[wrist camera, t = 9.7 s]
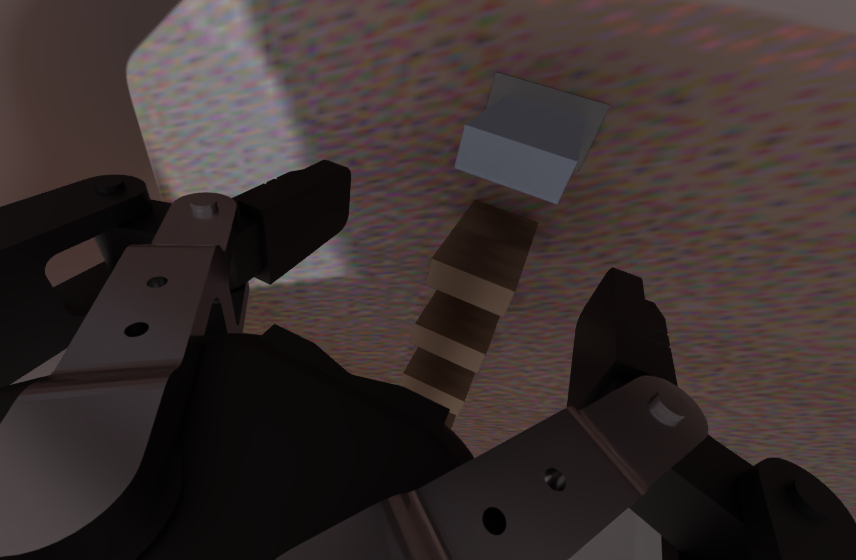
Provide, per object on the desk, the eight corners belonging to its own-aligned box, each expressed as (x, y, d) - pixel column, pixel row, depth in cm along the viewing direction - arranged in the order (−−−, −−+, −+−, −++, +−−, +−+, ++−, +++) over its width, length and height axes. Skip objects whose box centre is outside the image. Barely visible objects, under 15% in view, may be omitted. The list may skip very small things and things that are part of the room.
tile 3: (512, 279, 30) (485, 354, 23) (505, 297, 32) (477, 373, 25) (457, 257, 31) (415, 323, 24) (451, 275, 32) (410, 343, 26)
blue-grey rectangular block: (586, 118, 22) (577, 161, 15) (571, 150, 23) (557, 204, 16) (507, 94, 23) (465, 124, 16) (497, 126, 24) (454, 168, 17)
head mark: (610, 104, 21) (610, 105, 21) (579, 169, 24) (579, 170, 24) (496, 71, 23) (496, 72, 22) (478, 136, 25) (477, 137, 25)
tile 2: (538, 223, 27) (515, 291, 20) (528, 245, 28) (503, 317, 21) (474, 200, 28) (431, 258, 21) (467, 222, 29) (425, 284, 22)
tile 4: (492, 324, 34) (464, 401, 27) (486, 339, 35) (457, 416, 28) (443, 303, 35) (403, 373, 28) (438, 318, 36) (399, 388, 29)
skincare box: (662, 472, 36) (688, 679, 24) (599, 471, 39) (596, 653, 28) (631, 413, 33) (644, 614, 22) (566, 418, 37) (548, 594, 25)
